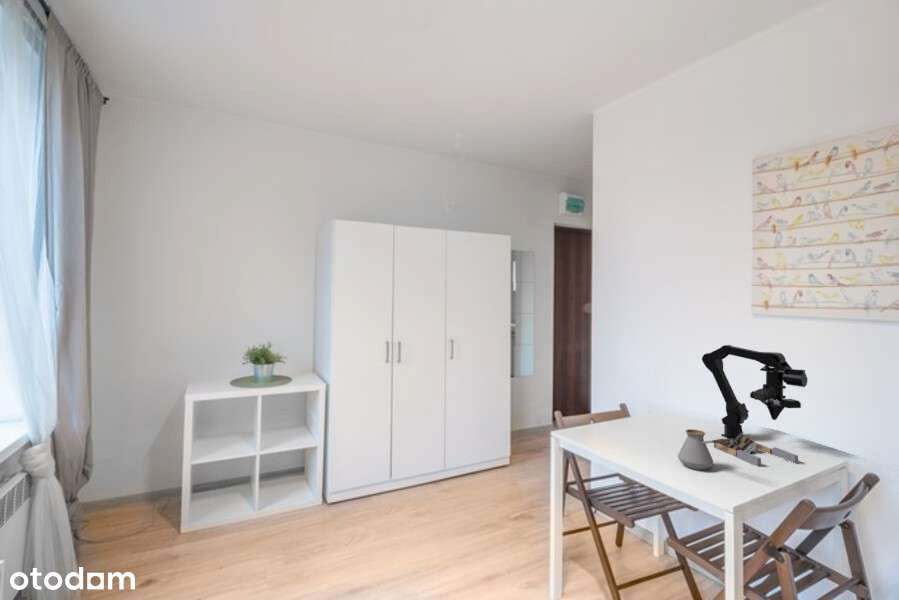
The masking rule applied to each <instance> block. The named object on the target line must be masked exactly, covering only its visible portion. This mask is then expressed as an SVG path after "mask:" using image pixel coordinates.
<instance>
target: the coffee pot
mask: <svg viewBox="0 0 899 600" xmlns="http://www.w3.org/2000/svg"><path fill="white" fill-rule="evenodd" d="M685 433H686V435H687V436H686V438H685V440H684V443H683V444H682V447H681V448H680V450H679V452H678V454H677V458H678V460H679V461H680V463H682V464H683V466H684V467H686V468H689V469H692V470H696V471H705V470H708V469H710V467H712V466H713V464H714V460H713V457H712V454H711V453H710V451H709V448H708V446H707V444H712V443H713V444H714V443H723V442H730V441H734V440H735V439H733V438H731V439H730V438H727V437H726V438H718V439H713V440H712V439H711V440H705V439H704V436H705V435H706V432H705V431H702V430H698V429H691V428H689V429H686V430H685ZM732 444H733V443H732ZM736 444H737V441H736ZM736 444H734V445H736Z"/></svg>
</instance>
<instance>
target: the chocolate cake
mask: <svg viewBox="0 0 899 600" xmlns="http://www.w3.org/2000/svg"><path fill="white" fill-rule="evenodd" d="M736 441H737V444H736ZM732 443H733V444H732ZM756 443H757V441H755V440H753V439H751V438H749V437H747V436H745V435H744V431H742V433H741V434H740V435H738V436H737V437H736V438H735V440H734V441H732V442H731V443H730V444H729V445H728V446H727V447H729V448H731V449H734V450H736V451H737V450H742V451H744V452H747V453H749V454H752V453H754V452H755V453H756V452H757V449H756ZM734 444H736V445H734ZM752 455H753V454H752Z"/></svg>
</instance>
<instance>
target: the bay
mask: <svg viewBox="0 0 899 600" xmlns="http://www.w3.org/2000/svg"><path fill="white" fill-rule="evenodd" d="M772 455H773V456H774V455H775V456H774V457H776V456H778V457H777V458H779V457H781V458H784V459H786V460H785V461H787V460H789V461H791V462H790V463H792V462H793V463H792V464H794V463H797V464H799V455H798V454H795V453H791V452H790V451H787V450H785V449H781V448H778V447H777V446H774V447H772ZM736 458H737V459H738V460H739V459H740V460H741V461H744V462H746V463H748V464H751V465H753V466H755V465H756V467H757V466H759V467H762V457H759V456H756V455H754V454H749V453H747V452H744V451H742V450H737V457H736ZM781 458H780V459H781ZM784 459H783V460H784ZM789 461H788V462H789Z"/></svg>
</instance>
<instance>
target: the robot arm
mask: <svg viewBox="0 0 899 600" xmlns="http://www.w3.org/2000/svg"><path fill="white" fill-rule="evenodd" d="M729 355H730V356H734V357H739V358H744V359H748V360H751V361H752V360H753V361H755V362H758V363H760V364H762V365H764V366H763V367H762V368H760V371H762V372H765V373H766V374H765V383H763V384H762V388H758V389H756V390H754V391H753V390H752V391H751V392H750V393H749V394H750V395H749V398H751V399H753V400H754V401H756V400H757V401H759V402H761V403H762V404H763V405H765V406H766V407H767V410H768V412H769V414H770V417H771V419H772V421H776V420H777V419H778V417H779V416H780V414H781V413H782V412H783V410H784V409H785V408H786V409H801V408H802V403H801V402H800V400H797V399H793V398H786V395H784V389H785V390H786V389H787V386H795V387H801V388H805V387H806V386H807V385H808V376H807V374H806V370H805V369H795V368H792V366H791V365H790V364H789V363H788V362H787V361H786V356H784V354H783V353H781V352H774V351H773V352H772V351H757V350H752V349H748V348H744V347H740V346H739V347H738V346H734V345H731V344H727V345H726V344H724V345H722V346H721V347H719V348H717V349H715V350H714V351H712V352H709V353H708V352H707V353H704V354H703V355H702V357H701V360H702V361H701V362H702V363H703V364H704V366H705V367H706V368H707V370H708V371H709V372H711V374H712V375H713V378H714V381H715V382H716V384H717V387H718V388H719V391H720V393H721V395H722V397H723V399H724V402H725V411H726V415H725V416H724V417H723V418H721V422H722V425H724V428H723V429H724V432H723V433H721V436H723V437H724V436H725V438H726V439H727V438H729V439H731V438H733V439H735V438H736V437H737V436H738V435H740V434H741V433H742V432H743V428H742V427H743V425H742V424H744V422H745V421H747V420H748V419H749V412H750V411H749V410H748V408H747V406H746V404H745V403H744V402H743V403H741V402H740V401H739V400H738V399H737V396H736V394H735V393H734V389H733V388H732V386H731V384H730V382H729V380H728V378H727V375H726V373H725V371H724V361H723V360H724V359H726V358H727V357H728V356H729ZM784 383H785V384H786V385H787V386H786V385H784Z"/></svg>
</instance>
